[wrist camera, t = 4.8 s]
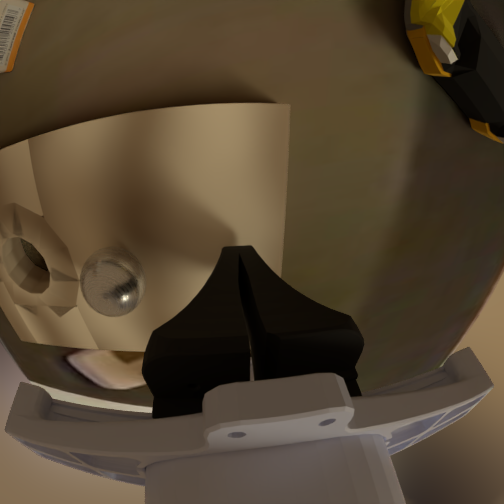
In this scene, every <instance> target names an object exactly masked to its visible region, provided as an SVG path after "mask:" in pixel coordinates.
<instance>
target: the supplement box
mask: <svg viewBox="0 0 504 504" xmlns="http://www.w3.org/2000/svg"><path fill="white" fill-rule="evenodd" d="M33 7H34V3H31V2H27V1H24V0H0V73H4V72H10V71H12V69H13V67H14V63H15V59H16V56H17V52H18V49H19V46H20V42H21V40H22V36H23V33H24V31H25V28H26V25H27V23H28V20H29V18H30V15H31V12H32V10H33Z"/></svg>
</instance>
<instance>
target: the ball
mask: <svg viewBox="0 0 504 504" xmlns="http://www.w3.org/2000/svg"><path fill="white" fill-rule="evenodd" d="M80 288H81V292H82V295H83V297H84V299H85V301H86V302H87V304H88V305H89V306H90V307H91V308H92V309H93V310H94V311H96V312H97V313H99V314H101V315H104V316H107V317H120V316H124V315H127V314H129V313H130V312H132V311H133V310H134V309H136V308H137V306H138V305H139V304H140V303H141V301H142V299H143V297H144V294H145V290H146V275H145V271H144V269H143V267H142V264H141V263H140V261H139V260H138V259H137V258H136V257H135V256H134V255H133V254H132V253H131V252H129V251H128V250H126V249H123V248H120V247H105V248H101V249H99V250H97V251H95V252H94V253H93V254H91V255H90V256H89V257H88V259H87V260H86V261H85V263H84V265H83V267H82V270H81V274H80Z"/></svg>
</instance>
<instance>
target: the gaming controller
mask: <svg viewBox="0 0 504 504" xmlns="http://www.w3.org/2000/svg"><path fill="white" fill-rule="evenodd" d="M404 21H405V26H406V35H407V37H408V39H409V40H410V42H411V45H412V47H413V49H414V52H415V54H416V57H417V59H418V62H419V65H420V67H421V69H422V70H423V72H424V74H428V75H432V76H433V77H434V78H435V79H436V81H437V82H438V83H439V84H440V85H441V86H442V87H443V88H444V89H445V90H446V92H447V93H448V94H449V95H450V96H451V97H452V98H453V100H454V101H455V102H456V103H457V104H458V106H459V107H460V108H461V109H462V111H463V112H464V113H465V114H466V116H467V117H468V118H469V120H470V124H471V128H472V129H474V130H475V131H476V132H478V133H480V134H482V135H484V136H487V137H489V138H491V139H493V140H495V141H497V142H500V143H503V144H504V49H503V47H502V46H501V44H500V43H499V41H498V40H497V38H496V37H495V36H494V34H493V33H492V31H491V30H490V29H489V27H488V26H487V24H486V23H485V22H484V21H483V19H482V18H481V17H480V15H479V14H478V13H477V12H476V10H475V9H474V8H473V6H472V4H471V2H470V0H405V9H404Z"/></svg>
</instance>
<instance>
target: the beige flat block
mask: <svg viewBox="0 0 504 504" xmlns="http://www.w3.org/2000/svg"><path fill="white" fill-rule="evenodd" d="M289 130H290V104H281V103H213V104H197V105H184V106H174V107H165V108H157V109H150V110H143V111H136V112H130V113H124V114H119V115H114V116H109V117H104V118H99V119H95V120H90V121H86V122H82V123H78V124H74V125H71V126H67V127H63V128H60V129H56V130H53V131H50V132H47V133H43V134H40V135H37V136H34V137H31V138H29V139H26V140H23V141H20V142H18V143H15V144H12V145H10V146H7V147H5V148H2V149H0V306H1V308H2V310H3V311H4V313H5V315H6V316H7V318H8V320H9V322H10V323H11V325H12V326H13V328H14V330H15V331H16V333H17V334H18V336H19V337H20V339H21V340H22V341H26V342H33V343H40V344H47V345H55V346H64V347H74V348H85V349H98V350H115V351H142V352H145V350H146V346H147V344H148V341H149V338H150V336H151V334H152V332H153V330H155V329H157V328H158V327H160V326H161V325H163V324H164V323H166V322H167V321H169V320H170V319H172V318H173V317H174V316H176V315H177V314H178V313H179V312H180V311H181V310H183V309H184V308H185V307H186V306H187V305H188V304H189V303H190V302H191V301H192V299H193V298H194V297H195V296H196V295H197V294H198V293H199V291H200V290H201V289H202V287H203V286H204V285H205V283H206V282H207V280H208V278H209V277H210V275H211V273H212V272H213V270H214V268H215V266H216V264H217V262H218V260H219V257H220V254H221V251H222V248H223V247H225V246H245V245H252V246H253V247H254V249H255V250H256V251H257V253H258V254H259V255H260V257H261V258H262V259H263V260H264V261H265V263H266V264H267V265H268V266H269V267H270V268H271V269H272V270H273V271H274V272H275V273H276V274H277V275H278V276H279V277H280V278H281V269H282V256H283V242H284V227H285V212H286V195H287V176H288V155H289ZM21 238H22V239H24V240H26V241H28V242H29V243H31V244H33V246H34V247H35V248H36V249H37V250H38V252H39V253H40V254H41V255H42V256H43V257H44V259H45V262H46V265H47V267H48V270H49V271H45V270H44V269H42V268H40V267H38V266H36V265H35V264H34V263H33V262H32V261H31V260H30V259H29V257H28V256H27V255H26V253H25V251H24V248H23V245H22V243H21ZM105 247H120V248H123V249H126V250H128V251H129V252H131V253H132V254H133V255H134V256H135V257H136V258H137V259H138V260H139V261H140V263H141V264H142V267H143V269H144V271H145V275H146V290H145V294H144V297H143V299H142V301H141V303H140V304H139V305H138V306H137V308H136V309H134V310H133V311H132V312H130V313H129V314H127V315H124V316H120V317H107V316H104V315H101V314H99V313H97V312H96V311H94V310H93V309H92V308H91V307H90V306H89V305H88V304H87V302H86V301H85V299H84V297H83V295H82V292H81V288H80V274H81V270H82V267H83V265H84V263H85V261H86V260H87V259H88V257H89V256H90V255H91V254H93V253H94V252H95V251H97V250H99V249H101V248H105Z"/></svg>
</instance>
